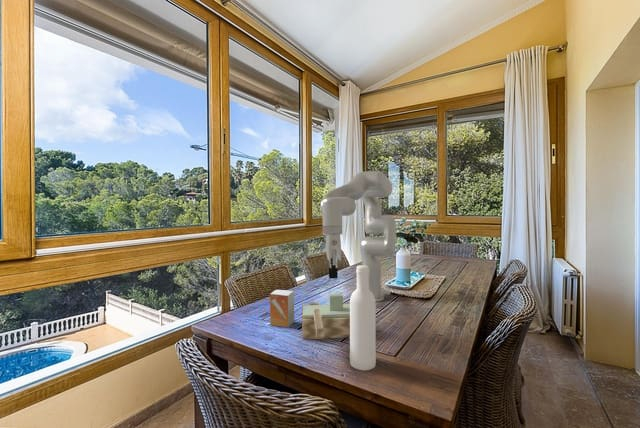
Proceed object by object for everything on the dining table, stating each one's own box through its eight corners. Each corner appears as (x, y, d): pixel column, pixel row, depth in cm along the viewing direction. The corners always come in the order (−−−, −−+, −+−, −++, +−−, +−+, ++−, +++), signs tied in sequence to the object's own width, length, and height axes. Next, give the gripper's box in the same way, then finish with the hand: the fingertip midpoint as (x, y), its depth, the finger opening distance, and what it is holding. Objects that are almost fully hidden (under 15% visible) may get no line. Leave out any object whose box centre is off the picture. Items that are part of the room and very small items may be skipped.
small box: (269, 325, 117) (269, 293, 117) (276, 319, 123) (276, 289, 123) (288, 328, 115) (288, 295, 114) (294, 321, 121) (294, 290, 120)
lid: (350, 306, 118) (350, 290, 118) (356, 316, 108) (356, 298, 107) (302, 308, 116) (302, 291, 116) (303, 318, 106) (302, 300, 106)
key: (319, 317, 104) (319, 308, 103) (323, 338, 88) (323, 328, 88) (313, 317, 103) (313, 309, 103) (316, 338, 87) (316, 328, 87)
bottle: (346, 367, 87) (346, 268, 86) (353, 354, 94) (352, 262, 93) (373, 373, 84) (373, 270, 83) (378, 359, 91) (378, 264, 90)
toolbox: (350, 321, 121) (350, 301, 120) (358, 338, 106) (357, 315, 105) (302, 323, 119) (301, 303, 119) (302, 340, 104) (302, 317, 104)
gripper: (345, 232, 103) (345, 283, 104) (339, 228, 118) (340, 272, 119) (324, 232, 103) (325, 284, 104) (321, 228, 118) (322, 273, 119)
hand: (333, 277), depth 111 cm, fingers closed
